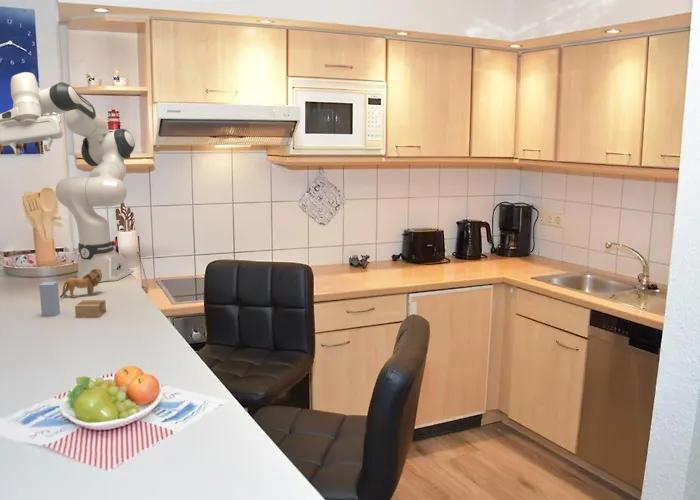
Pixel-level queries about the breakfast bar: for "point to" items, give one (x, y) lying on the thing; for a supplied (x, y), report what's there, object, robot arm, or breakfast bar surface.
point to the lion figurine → (83, 283)
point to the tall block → (49, 298)
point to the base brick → (90, 308)
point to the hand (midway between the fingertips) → (32, 152)
